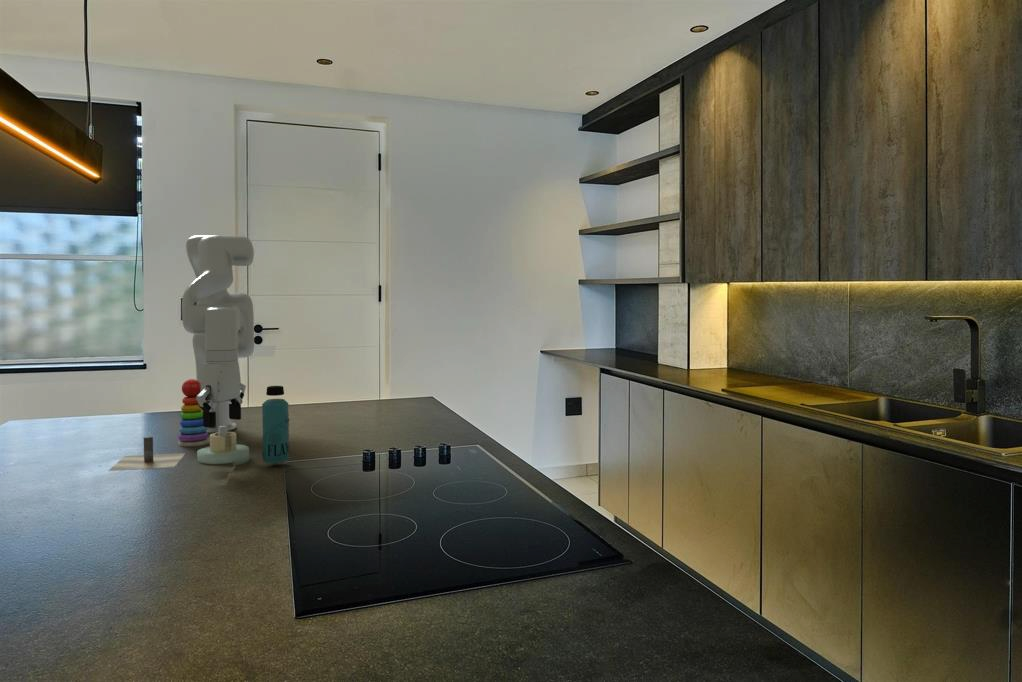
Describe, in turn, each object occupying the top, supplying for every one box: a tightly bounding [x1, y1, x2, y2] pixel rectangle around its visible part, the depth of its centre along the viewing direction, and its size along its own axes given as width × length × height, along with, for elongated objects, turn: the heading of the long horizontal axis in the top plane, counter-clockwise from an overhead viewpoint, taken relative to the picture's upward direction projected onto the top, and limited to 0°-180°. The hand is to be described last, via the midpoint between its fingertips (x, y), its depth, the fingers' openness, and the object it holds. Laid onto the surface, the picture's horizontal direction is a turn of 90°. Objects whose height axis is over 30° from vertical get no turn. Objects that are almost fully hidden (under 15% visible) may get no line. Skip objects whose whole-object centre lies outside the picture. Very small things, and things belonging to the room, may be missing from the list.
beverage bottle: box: [261, 385, 290, 464], centre depth 162 cm, size 6×7×20 cm
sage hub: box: [196, 426, 250, 467], centre depth 166 cm, size 12×12×9 cm
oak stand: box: [107, 436, 186, 472], centre depth 161 cm, size 14×14×7 cm
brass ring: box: [209, 431, 237, 453], centre depth 166 cm, size 6×6×4 cm
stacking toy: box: [177, 378, 210, 447], centre depth 181 cm, size 8×8×19 cm
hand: (222, 423), depth 166 cm, fingers open, 9 cm apart
